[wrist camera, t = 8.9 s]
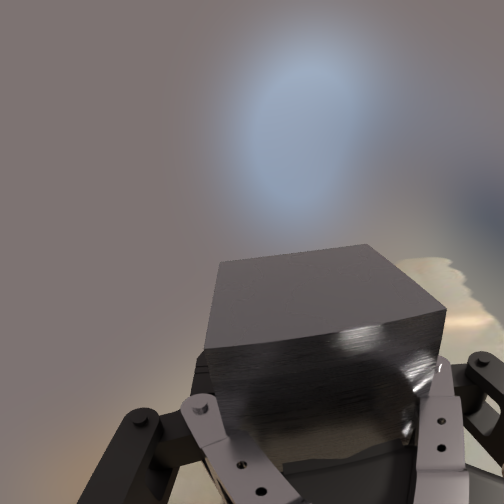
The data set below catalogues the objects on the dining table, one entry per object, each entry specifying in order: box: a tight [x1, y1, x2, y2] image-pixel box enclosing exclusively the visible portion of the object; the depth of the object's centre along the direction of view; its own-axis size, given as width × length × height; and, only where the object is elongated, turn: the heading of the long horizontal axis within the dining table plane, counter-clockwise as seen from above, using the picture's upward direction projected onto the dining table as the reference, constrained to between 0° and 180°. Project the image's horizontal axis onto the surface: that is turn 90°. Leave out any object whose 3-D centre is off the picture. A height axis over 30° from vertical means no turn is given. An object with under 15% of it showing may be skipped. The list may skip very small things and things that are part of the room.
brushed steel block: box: [204, 244, 447, 472], centre depth 11 cm, size 6×6×10 cm
